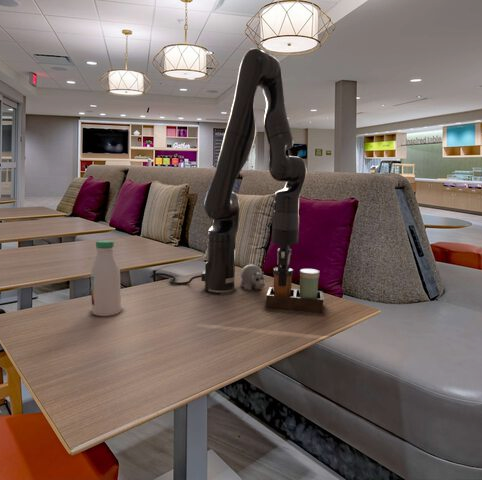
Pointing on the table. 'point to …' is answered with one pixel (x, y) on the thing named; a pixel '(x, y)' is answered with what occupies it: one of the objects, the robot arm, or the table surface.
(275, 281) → the amber jar
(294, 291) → the jar stand
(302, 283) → the green jar
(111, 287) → the milk bottle
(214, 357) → the table surface
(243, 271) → the chubby cartoon animal
